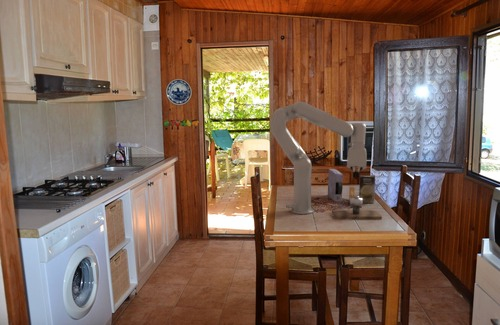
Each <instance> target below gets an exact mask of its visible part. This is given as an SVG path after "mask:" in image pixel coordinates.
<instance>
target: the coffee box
mask: <svg viewBox="0 0 500 325" xmlns="http://www.w3.org/2000/svg"><path fill="white" fill-rule="evenodd" d="M375 187H376V175H371V174H359V189H358V196H359V197H362V198H363V204H375V194H376V192H375V191H376V188H375Z"/></svg>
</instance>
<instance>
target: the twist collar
mask: <svg viewBox="0 0 500 325" xmlns="http://www.w3.org/2000/svg"><path fill="white" fill-rule="evenodd" d="M348 194H349V204H350V206H362V207H363V204H364V203H363V198H362V197H359V195H355V187H354V186H351V185H350V186H349V193H348Z"/></svg>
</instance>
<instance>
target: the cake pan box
mask: <svg viewBox="0 0 500 325" xmlns="http://www.w3.org/2000/svg"><path fill="white" fill-rule="evenodd" d="M327 178H328V180H327V181H328V182H327V196H328V197H329V198H330V199H331V200H332V201H333V202H334V203H341V202H343V201H342V200H343V199H342V198H343V188H344V187H343V182H344V180H343V179H344V174H343V173H342V172H340V171H339V170H337V169H336V168H329V169H328V177H327Z"/></svg>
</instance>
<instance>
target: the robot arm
mask: <svg viewBox="0 0 500 325" xmlns="http://www.w3.org/2000/svg"><path fill="white" fill-rule="evenodd" d="M298 118H300V119H302V120H303V121H306V122H308V123H311V124H313V125H315V126H317V127H320V128H322V129H326V130H328V131H331V132H333V133H334V134H337V135H340V136H341V137H343V138H349V137H350V142H348V143H347V146H349V148H348V152H347V158H346V159H347V160H346V168H348V169H350V170H351V171H352V172H353V174H352V175H353V177H352V178H354V180H358V178H359V179H360V172H361V171H363V170H365V169H367V168H368V167H367V157H368V156H367V154H368V153H367V148H365V147H366V132H367V126H366V123H362V122H347V121H345V120H343V119H340V118H338V117H336V116H334V115H332V114H330V113H328V112H327V111H324V110H322V109H320V108H318V107H315V106H314V105H311V104H309V103H308V102H307V103H306V102H305V101H297V102H295V103H292V104H288V105H285V106H282V107H279V108H276V110H275V111H274V112H273V114H272V116H271V120H270V123H269V126H270V131H271V134H272V136H273V137H274V138H275V140H276V142H277V143H278V145H279V147H280V148H281V149H282V152H283V153H284V154H285V155H286V157H287V158H288V160H289V161H290V162H291V164H292V165H293V203H290V204H289V203H286V204H285V207H286V208H287V209H290V210H291V213H294V214H297V215H308V214H309V215H310V214H313V213H314V211H315V210H314V208H313V207H312V171H313V170H312V169H313V168H312V161H311V159H310V158H309V157H308V155H307V153H306V152H305V151H304V149H303V148H302V146H301V145H300V144H299V142H298V140H296V139H295V138H294V137H293V135H292V134H291V131H290V130H289V129H288V127H287V123H288V122H290V121H293V120H296V119H298ZM356 167H357V170H356Z"/></svg>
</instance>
